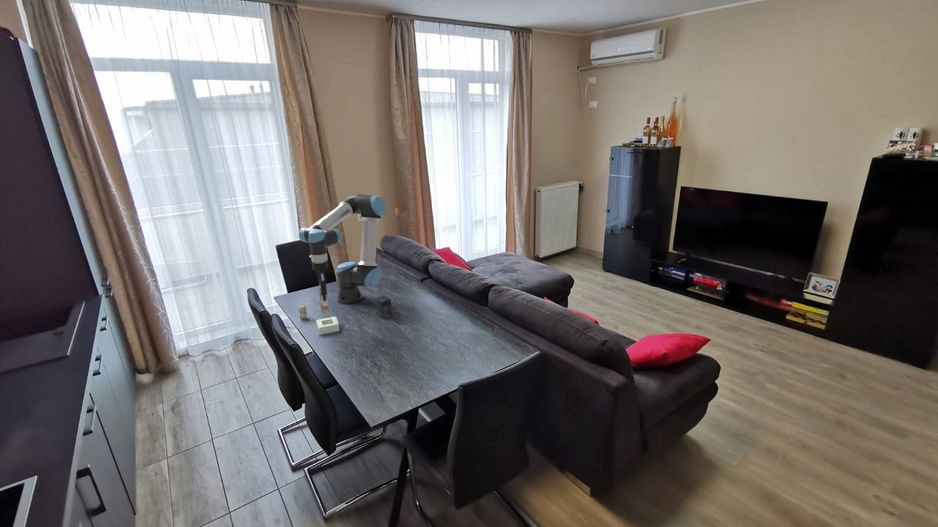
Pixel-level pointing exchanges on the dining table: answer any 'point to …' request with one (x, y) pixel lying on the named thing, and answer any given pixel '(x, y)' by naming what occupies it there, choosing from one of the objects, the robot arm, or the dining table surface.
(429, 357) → the dining table surface
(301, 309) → the short pin
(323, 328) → the hole block
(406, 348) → the dining table surface
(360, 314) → the dining table surface
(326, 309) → the long pin
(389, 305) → the box
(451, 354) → the dining table surface
